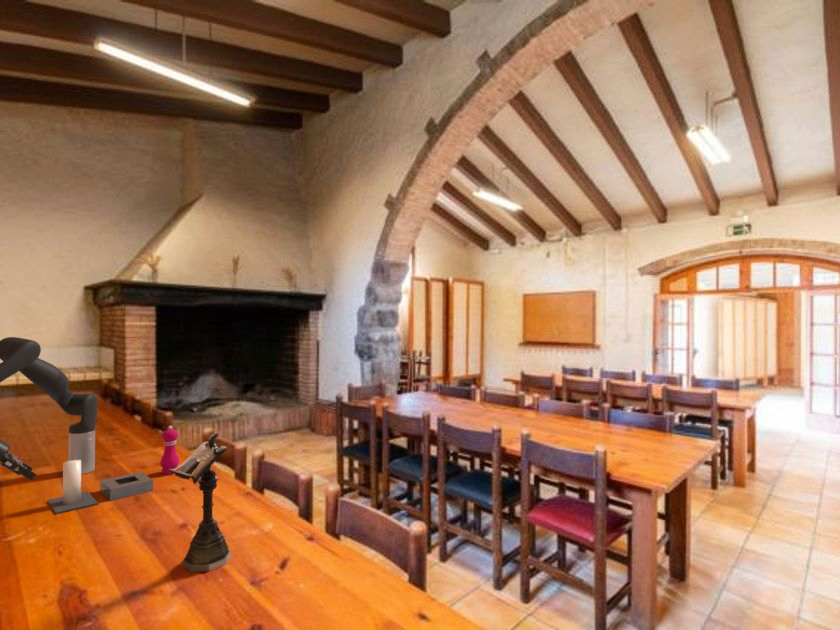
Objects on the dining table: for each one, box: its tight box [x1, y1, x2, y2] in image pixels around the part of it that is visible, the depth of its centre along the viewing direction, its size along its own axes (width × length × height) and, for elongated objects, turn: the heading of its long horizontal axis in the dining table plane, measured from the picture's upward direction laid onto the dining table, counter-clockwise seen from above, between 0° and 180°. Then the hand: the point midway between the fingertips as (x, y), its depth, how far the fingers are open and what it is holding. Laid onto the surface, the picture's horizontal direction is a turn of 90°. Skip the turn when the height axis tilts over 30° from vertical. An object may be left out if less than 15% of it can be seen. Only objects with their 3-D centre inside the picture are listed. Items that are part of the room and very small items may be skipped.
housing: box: [100, 471, 154, 501], centre depth 182 cm, size 14×14×4 cm
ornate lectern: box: [168, 432, 232, 573], centre depth 128 cm, size 17×13×35 cm
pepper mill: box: [160, 425, 180, 476], centre depth 204 cm, size 7×7×20 cm
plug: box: [62, 460, 82, 504], centre depth 170 cm, size 5×5×14 cm
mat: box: [47, 490, 99, 515], centre depth 170 cm, size 16×12×1 cm
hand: (32, 474), depth 163 cm, fingers open, 8 cm apart
